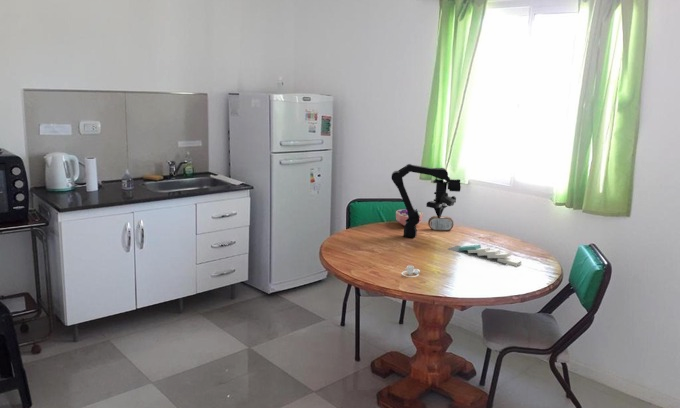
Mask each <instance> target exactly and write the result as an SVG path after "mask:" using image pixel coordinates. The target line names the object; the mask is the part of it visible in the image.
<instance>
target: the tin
mask: <svg viewBox="0 0 680 408" xmlns="http://www.w3.org/2000/svg"><path fill="white" fill-rule="evenodd" d="M427 224H428V227H429V228H430V229H431V230H432V231H442V232H443V231H445V232H448V231H451V230H452V229H453V227H454V220H453V219H452V217H449V216H442V215H441V217H440V218H438V217H437V215H433V216H430V218H428V221H427Z"/></svg>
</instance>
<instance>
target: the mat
mask: <svg viewBox="0 0 680 408" xmlns="http://www.w3.org/2000/svg"><path fill="white" fill-rule="evenodd" d="M459 247H462V246H461V245H455V246H453V247H449V248H447V250H449V251H452V252H456V253H461V254H462V255H468V256H471V257H473V258H478V259H481V260H485V261H488V262H492V263H496V264H500V265H504V266H505V265H507V264H506V263H503V262H499V261H497V260H498V258H487V255H484V256H478V254H477V253H468V250H463V251H459Z"/></svg>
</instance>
